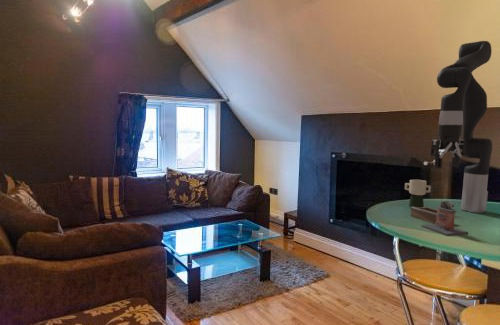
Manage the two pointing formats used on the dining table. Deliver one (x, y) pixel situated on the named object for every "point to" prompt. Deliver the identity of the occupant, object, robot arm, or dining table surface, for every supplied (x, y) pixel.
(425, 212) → the holder
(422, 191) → the character mug
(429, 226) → the mat
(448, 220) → the lighter
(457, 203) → the dining table surface
